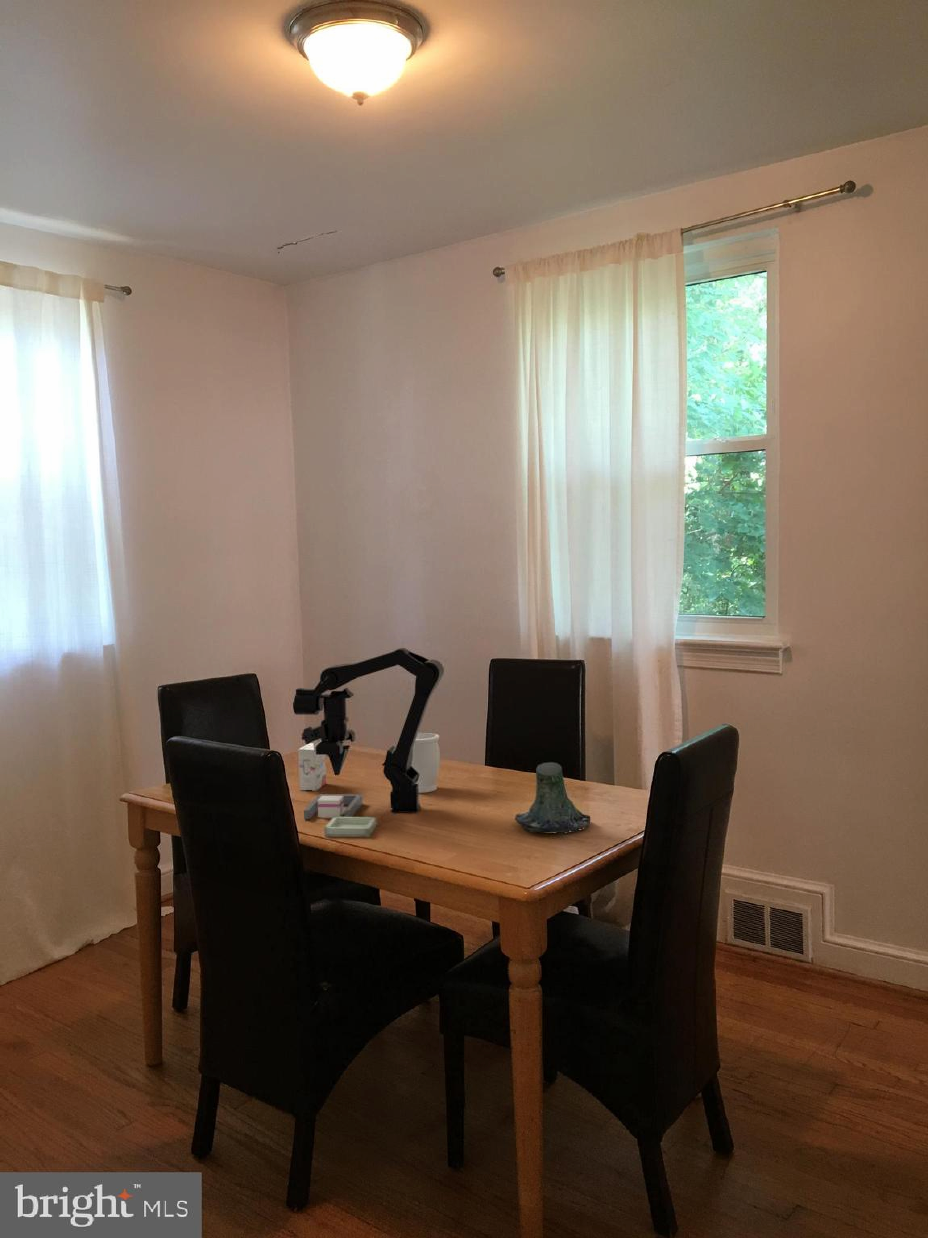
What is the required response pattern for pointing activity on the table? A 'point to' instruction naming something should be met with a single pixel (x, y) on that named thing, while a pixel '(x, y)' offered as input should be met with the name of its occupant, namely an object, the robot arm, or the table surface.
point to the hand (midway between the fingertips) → (337, 775)
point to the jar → (426, 761)
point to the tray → (350, 827)
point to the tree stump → (552, 804)
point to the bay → (350, 800)
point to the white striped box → (330, 806)
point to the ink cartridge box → (311, 767)
